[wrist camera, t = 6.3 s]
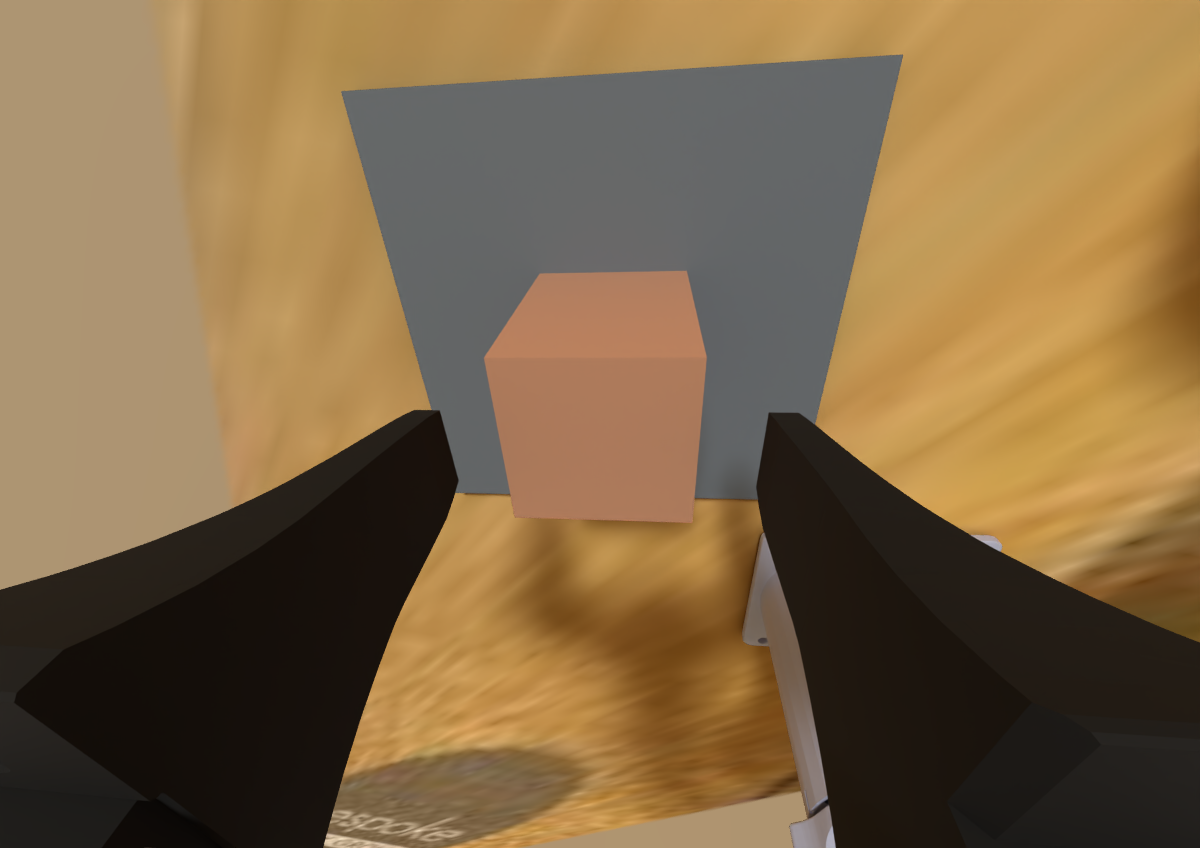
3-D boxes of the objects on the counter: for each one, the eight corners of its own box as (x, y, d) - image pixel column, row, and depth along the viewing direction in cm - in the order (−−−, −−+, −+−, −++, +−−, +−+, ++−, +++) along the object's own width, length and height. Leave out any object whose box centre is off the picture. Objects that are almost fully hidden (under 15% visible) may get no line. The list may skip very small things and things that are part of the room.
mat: (892, 56, 12) (903, 54, 11) (792, 490, 19) (796, 500, 19) (353, 91, 13) (341, 91, 13) (460, 483, 21) (455, 493, 20)
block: (686, 270, 14) (707, 357, 9) (679, 399, 17) (692, 522, 12) (539, 273, 15) (483, 357, 10) (553, 399, 17) (514, 517, 12)
